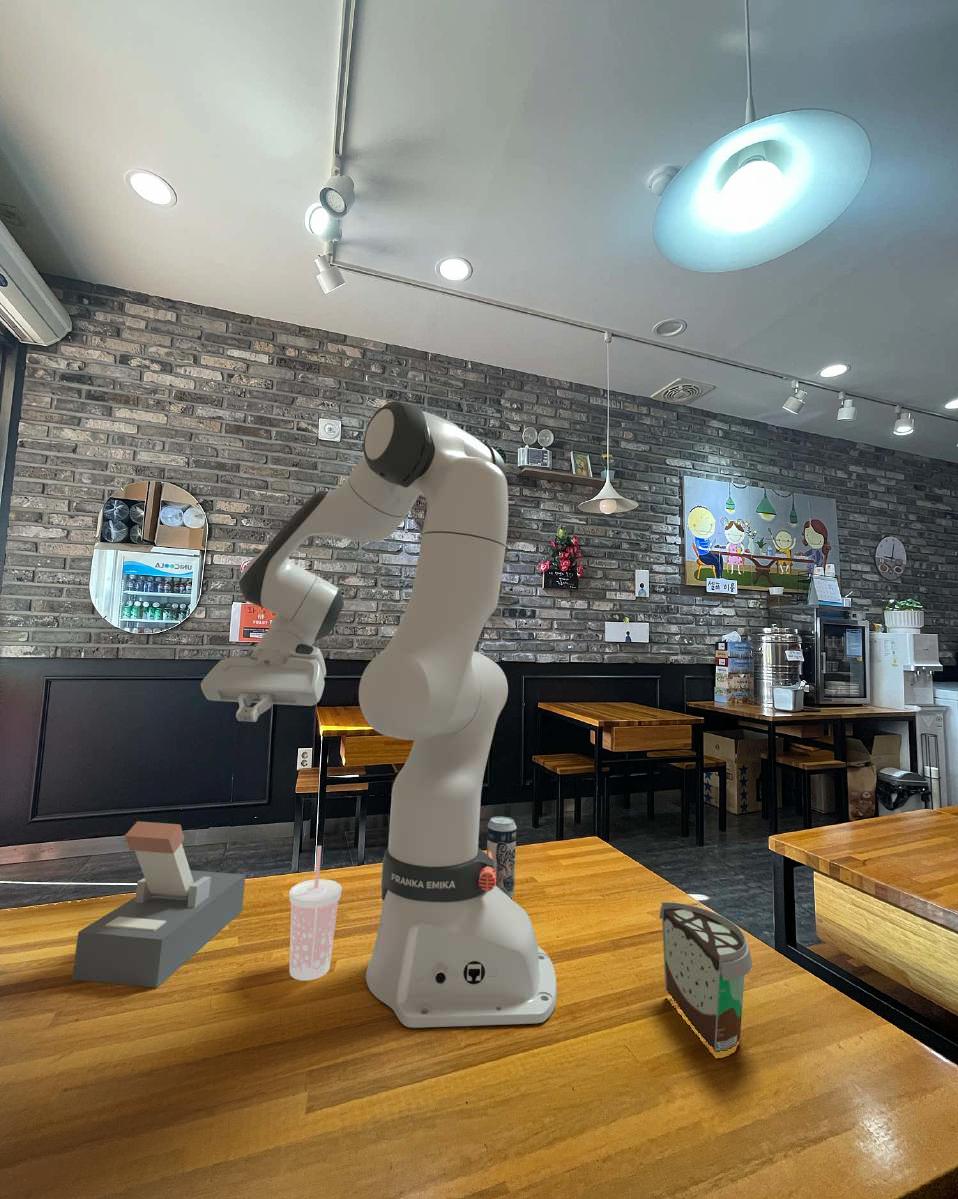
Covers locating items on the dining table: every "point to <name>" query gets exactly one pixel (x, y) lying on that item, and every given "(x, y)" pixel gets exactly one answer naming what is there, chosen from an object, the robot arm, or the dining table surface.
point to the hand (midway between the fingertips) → (245, 719)
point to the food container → (705, 970)
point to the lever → (161, 858)
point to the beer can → (503, 851)
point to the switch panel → (157, 931)
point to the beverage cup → (312, 925)
